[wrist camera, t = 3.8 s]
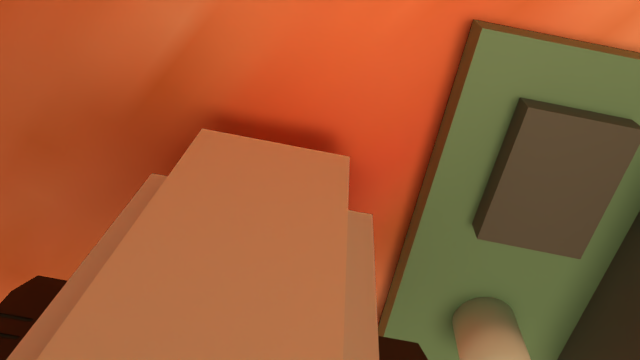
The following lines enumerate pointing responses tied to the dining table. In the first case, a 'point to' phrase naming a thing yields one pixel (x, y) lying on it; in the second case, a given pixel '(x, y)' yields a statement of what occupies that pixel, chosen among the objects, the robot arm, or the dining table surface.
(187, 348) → the plug
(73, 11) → the dining table surface
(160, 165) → the dining table surface
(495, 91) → the board
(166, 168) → the dining table surface
